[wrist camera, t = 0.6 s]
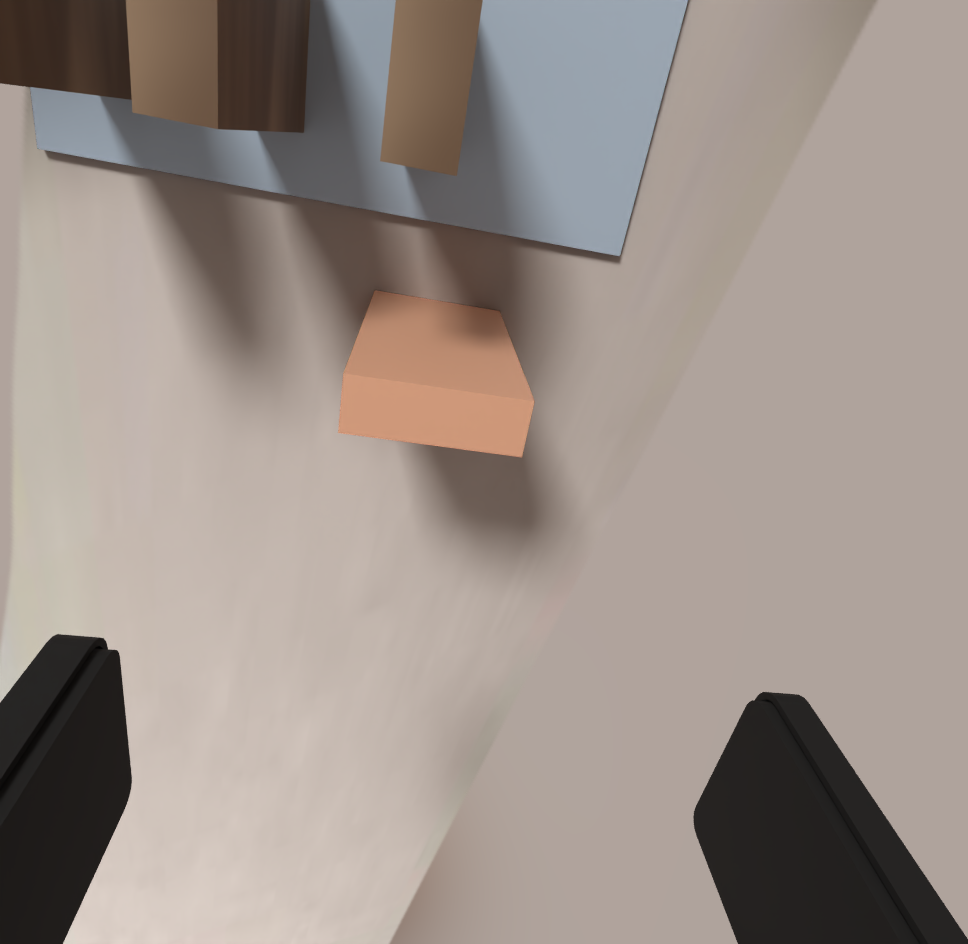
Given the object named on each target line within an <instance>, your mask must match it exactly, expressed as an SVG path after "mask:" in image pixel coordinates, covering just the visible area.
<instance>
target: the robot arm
mask: <svg viewBox="0 0 968 944" xmlns="http://www.w3.org/2000/svg"><path fill="white" fill-rule="evenodd" d="M131 784H132V776H131V766H130V756H129V746H128V736H127V725H126V715H125V705H124V695H123V685H122V675H121V665H120V656H119V652H118V651H117V650H108V647H107V643H106V641H105V640H104V638H96V637H84V636H72V635H60V634H57V635H55V636H53V637H52V638H51V639H50V640H49V641H48V642H47V643H46V644H45V645H44V647H43V648H42V649H41V651H40V652H39V653H38V655H37V656H36V657H35V658H34V660H33V661H32V662H31V664H30V665H29V666H28V668H27V669H26V670H25V671H24V673H23V674H22V675H21V677H20V678H19V679H18V681H17V682H16V683H15V684H14V686H13V687H12V688H11V690H10V691H9V692H8V694H7V695H6V696H5V697H4V699H3V700H2V701H1V703H0V944H63V942H64V940H65V938H66V935H67V933H68V931H69V929H70V927H71V925H72V922H73V920H74V918H75V916H76V914H77V912H78V909H79V907H80V905H81V903H82V901H83V899H84V896H85V894H86V892H87V890H88V888H89V885H90V883H91V881H92V879H93V877H94V875H95V872H96V870H97V868H98V866H99V864H100V862H101V859H102V857H103V855H104V853H105V851H106V849H107V846H108V844H109V842H110V840H111V838H112V835H113V833H114V831H115V829H116V827H117V825H118V822H119V820H120V818H121V816H122V814H123V812H124V809H125V807H126V804H127V802H128V798H129V795H130V790H131ZM694 828H695V832H696V835H697V838H698V840H699V843H700V846H701V848H702V851H703V854H704V856H705V859H706V861H707V864H708V867H709V869H710V872H711V874H712V877H713V880H714V882H715V885H716V888H717V890H718V893H719V895H720V898H721V900H722V903H723V906H724V909H725V911H726V914H727V916H728V919H729V921H730V924H731V926H732V929H733V932H734V935H735V937H736V940H737V942H738V944H968V939H967V937H966V936H965V935H964V933H963V931H962V930H961V929H960V927H959V926H958V924H957V923H956V921H955V920H954V918H953V917H952V915H951V914H950V912H949V911H948V909H947V908H946V906H945V905H944V903H943V902H942V900H941V899H940V897H939V896H938V894H937V893H936V891H935V890H934V889H933V887H932V885H931V884H930V882H929V881H928V880H927V878H926V877H925V875H924V874H923V872H922V871H921V869H920V868H919V866H918V865H917V863H916V862H915V860H914V859H913V857H912V856H911V854H910V853H909V851H908V850H907V848H906V847H905V845H904V844H903V842H902V841H901V839H900V838H899V837H898V835H897V833H896V832H895V830H894V829H893V827H892V826H891V824H890V823H889V821H888V820H887V819H886V817H885V816H884V814H883V813H882V811H881V810H880V808H879V807H878V805H877V804H876V802H875V801H874V799H873V798H872V796H871V795H870V793H869V792H868V790H867V789H866V787H865V786H864V784H863V783H862V781H861V780H860V778H859V777H858V775H857V774H856V773H855V771H854V769H853V768H852V766H851V765H850V764H849V762H848V761H847V759H846V758H845V756H844V755H843V753H842V752H841V750H840V749H839V748H838V746H837V744H836V743H835V741H834V740H833V738H832V737H831V735H830V734H829V732H828V731H827V729H826V728H825V726H824V725H823V724H822V722H821V721H820V719H819V718H818V716H817V714H816V713H815V712H814V710H813V709H812V707H811V706H810V704H809V703H808V702H807V701H806V699H805V698H804V697H802V696H800V695H795V694H783V693H769V692H762V693H761V694H759V695H758V696H757V698H756V699H755V701H751V702H749V703H748V704H747V706H746V707H745V710H744V711H743V713H742V715H741V717H740V719H739V721H738V723H737V726H736V727H735V729H734V732H733V734H732V735H731V738H730V739H729V742H728V743H727V745H726V748H725V750H724V752H723V754H722V755H721V757H720V759H719V761H718V763H717V766H716V767H715V769H714V772H713V774H712V775H711V777H710V779H709V781H708V783H707V786H706V787H705V789H704V791H703V793H702V795H701V797H700V800H699V801H698V803H697V805H696V808H695V811H694Z"/></svg>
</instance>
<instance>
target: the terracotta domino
mask: <svg viewBox="0 0 968 944" xmlns="http://www.w3.org/2000/svg"><path fill="white" fill-rule="evenodd" d="M534 402H535V401H534V398H533V396H532V393H531V391H530V388H529V385H528V383H527V380H526V378H525V375H524V373H523V370H522V367H521V365H520V362H519V360H518V357H517V355H516V352H515V349H514V347H513V344H512V342H511V339H510V337H509V334H508V331H507V329H506V326H505V324H504V321H503V318H502V316H501V313H500V311H497V310H491V309H485V308H479V307H473V306H467V305H461V304H455V303H449V302H443V301H437V300H431V299H425V298H419V297H413V296H407V295H401V294H395V293H389V292H383V291H377V290H375V291H374V294H373V296H372V299H371V302H370V304H369V307H368V310H367V312H366V315H365V318H364V320H363V323H362V325H361V328H360V331H359V333H358V336H357V339H356V341H355V344H354V347H353V349H352V352H351V354H350V357H349V360H348V362H347V365H346V368H345V370H344V373H343V383H342V395H341V406H340V418H339V430H338V433H343V434H351V435H358V436H366V437H373V438H381V439H388V440H396V441H403V442H411V443H418V444H426V445H433V446H441V447H448V448H456V449H463V450H471V451H478V452H486V453H493V454H501V455H508V456H516V457H522V454H523V450H524V446H525V441H526V437H527V433H528V428H529V424H530V420H531V415H532V411H533V407H534Z"/></svg>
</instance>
